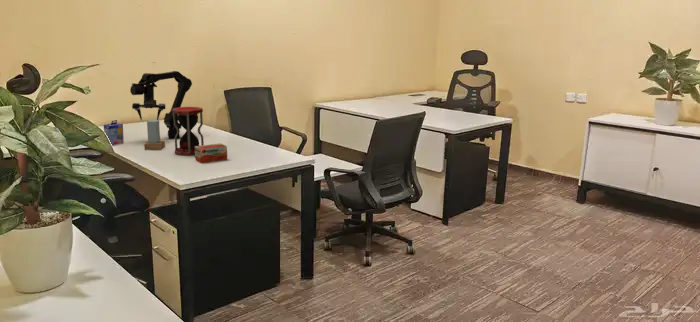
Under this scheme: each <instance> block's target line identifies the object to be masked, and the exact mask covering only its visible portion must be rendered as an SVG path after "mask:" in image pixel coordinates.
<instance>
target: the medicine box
mask: <svg viewBox="0 0 700 322" xmlns="http://www.w3.org/2000/svg"><path fill="white" fill-rule="evenodd" d="M194 159H195V161H196V162H198V163H201V164H204V163H205V162H206V163H213V162H212V161H214V162H220V160H221V161H227V160H228V147H227V145H225V144H223V143H212V144H204V145H199V146H195V155H194Z"/></svg>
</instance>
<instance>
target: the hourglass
mask: <svg viewBox="0 0 700 322" xmlns="http://www.w3.org/2000/svg"><path fill="white" fill-rule="evenodd" d="M172 111H173V118H174V126H175V127H176V129H177V134H176V135H175V139H174V154H175V155H178V156H184V157H185V156H187V157H188V156H190V157H191V156H195V146H202V145H205V144H204V135H203V134H202V133H201V128H202V127H203V111H204V109H203V108H202V107H198V106H181V107H178V108H173V109H172ZM175 113H177V114H178V123H179V124H180V125H181V128H183V129H184V130H185V133H183V134H182V136H180V138H179V143H178V139H177V136H178V135H179V134H180V132H181V129H179V128H178V127H177V125H176V115H175ZM199 116H200V117H199ZM199 119H200V125H199V126H198V127H197V132H198V134H199V136H200V139H201V141H200V139H199V138H198V137H197V135H195V134H194V132H192V130H193V129H194V128H195V127H196V125H197V124H198V123H199ZM200 143H201V145H200ZM178 144H179V147H178Z"/></svg>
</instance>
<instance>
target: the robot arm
mask: <svg viewBox="0 0 700 322" xmlns="http://www.w3.org/2000/svg"><path fill="white" fill-rule="evenodd" d="M169 79H174V81H176V83H177V92H176V95H175V97H174V100H173V103H172V105H171V108H170V111H169V112H166V113H165V115H164V117H163V123H164V125H165V126H166V128H167V129H168V130H167V137H168V139H169V140H171V139H172V140H173V139H174V140H175V135H176V134H177V129H176V127H175V126H174V118H173V111H172V109H173V108H178V107H182V104H183V102H184V99H185V95H186V93H188V91H189V90H190V89H191V87H192V86H193V82H192V80H191V79H190V78H188V77H186V76H185V75H183V74H182V73H181V72H180V71H176V70H172V71H168V72H167V71H166V72H160V73H159V72H158V73H151V72H150V73H148V72H145V73H143V74H142V76H141V78H140V80H139V81H138V83H131V86H130V90H129V91H130V94H131V95H132V96H143V104H140V103H139V102H138V103H137V102H133V103H132V109H133V110H134V111H136V112H137V114H138V116H139V119H140V121H142V120H143V117H142V112H141V111H142V110H141V108H145V109H155V108H156V109H157V114H156V120H159V119H160V115H161V112H162V111H164V110H166V103H158V104H157V100H156V99H155V88H157V87H158V85H157V84H155V83H157V82H159V81H163V80H169ZM175 115H176V125H177V127H178V128H179V130H181V129H182V126H181V125H180V123H179V121H178V114H177V113H175ZM178 139H181V136H180V133H179V135H178V136H177V140H178Z"/></svg>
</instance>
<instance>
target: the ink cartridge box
mask: <svg viewBox="0 0 700 322" xmlns="http://www.w3.org/2000/svg"><path fill="white" fill-rule="evenodd" d="M104 132H105V133H106V135H107V136H108V138H109V140H110V142H111V144H112V145H113V146H116V145H117V146H118V145H122V144H124V142H125V141H124V140H125V139H124V124H123V123H120V122H118V120H117V119H115V120H111V123H105V124H103V133H104Z"/></svg>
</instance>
